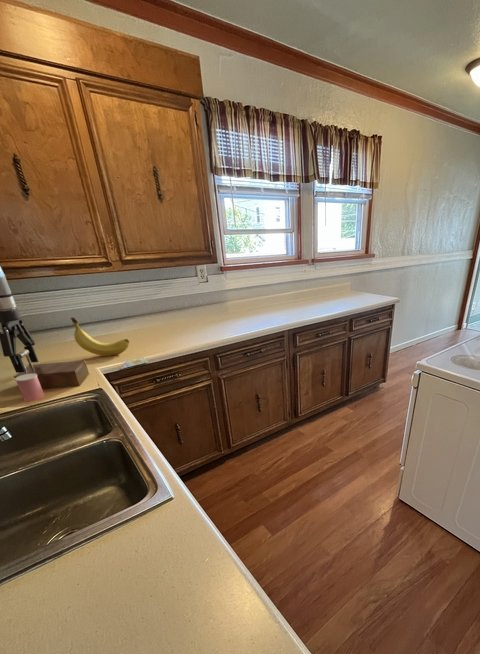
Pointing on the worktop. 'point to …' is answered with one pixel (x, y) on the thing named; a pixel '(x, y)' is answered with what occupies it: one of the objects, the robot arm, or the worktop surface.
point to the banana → (98, 343)
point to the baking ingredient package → (133, 362)
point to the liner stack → (30, 387)
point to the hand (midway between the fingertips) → (27, 366)
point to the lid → (48, 367)
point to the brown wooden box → (64, 379)
